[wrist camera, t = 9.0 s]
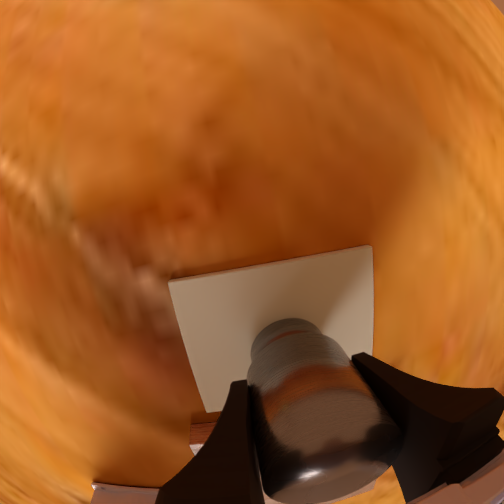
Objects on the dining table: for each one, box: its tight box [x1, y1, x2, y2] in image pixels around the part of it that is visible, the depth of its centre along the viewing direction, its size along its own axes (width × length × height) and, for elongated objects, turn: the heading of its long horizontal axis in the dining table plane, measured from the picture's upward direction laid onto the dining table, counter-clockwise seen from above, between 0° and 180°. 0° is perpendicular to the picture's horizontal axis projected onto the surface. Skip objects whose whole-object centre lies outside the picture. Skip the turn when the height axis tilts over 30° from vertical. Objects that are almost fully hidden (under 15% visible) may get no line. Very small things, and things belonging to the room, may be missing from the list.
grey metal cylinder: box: [246, 318, 404, 504], centre depth 11 cm, size 5×5×8 cm
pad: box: [168, 245, 374, 413], centre depth 16 cm, size 11×9×1 cm
